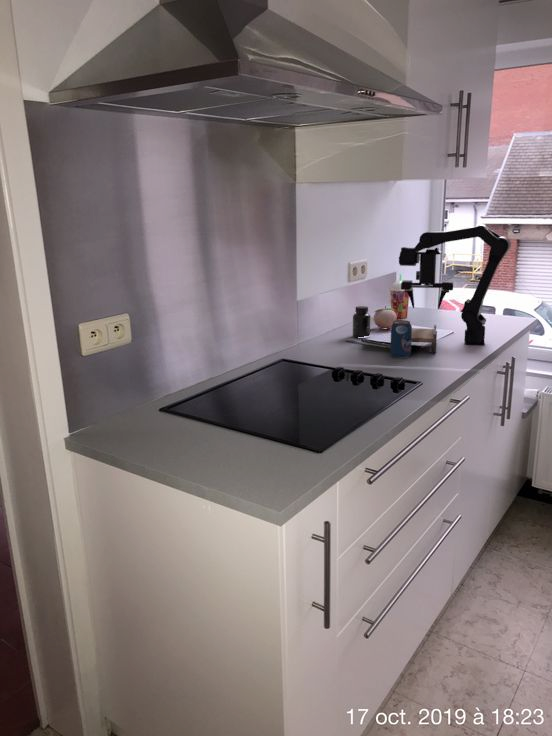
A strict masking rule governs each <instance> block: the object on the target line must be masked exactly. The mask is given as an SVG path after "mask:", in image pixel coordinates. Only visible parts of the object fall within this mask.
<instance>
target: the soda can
mask: <svg viewBox="0 0 552 736" xmlns="http://www.w3.org/2000/svg"><path fill="white" fill-rule="evenodd" d="M412 328H413V326H412V324H411V321H409V320H405V319H404V320H402V319H401V320H400V319H396V321H393V324H392V326H391V327H390V348H389V349H390V350H389V351H390V354H391V356H392V357H393V358H395V359H407V358H409V357H410V356H411V353H412V342H411V337H412Z"/></svg>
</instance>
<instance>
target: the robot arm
mask: <svg viewBox="0 0 552 736" xmlns="http://www.w3.org/2000/svg"><path fill="white" fill-rule="evenodd" d="M473 238H479V239H481V240H482V241H483V242H484V243H485V244H486V245H487V246H489V247H490V249H489V252H488V261H487V263H486V265H485V268H484V269H483V272H482V275H481V277H480V278H479V282H478V284H477V286H476V288H475V291H474V293H473V295H472V297H471V298H470V299H469V298H467V299H466V300H465V301H464V304H463V308H462V309H461V310H460V313H461V315H460V316H461V320H462V321H463V322H464V323H465V324H466V325H465V326H466V329H465V330H464V343H465V345H471V346H472V345H474V346H476V345H478V346H485V345H486V342H485V335H486V326H485V324H486V323H487V319H486V318H485V317H484V315H482V309H483V304H484V299H485V296H486V295H487V292H488V290H489V288H490V286H491V283H492V282H493V278H494V277H495V274H496V273H497V270H498V268H499V265H500V264H501V262H502V261H503V259H504V258H505V257H506V255H507V254H508V253H509V250H510V249H511V247H512V242H511V240H510V239H509V238H508V237H506V236H500V235H499V234H498V233H497V232H495V231H493V230H491V229H490V228H489V227H488V226H487V225H485V224H480V225H478V226H472V227H466V228H459V229H454V230H448V231H447V230H446V231H442V230H441V231H440V230H439V231H437V230H436V231H435V230H432V231H431V230H430V231H426V232H423V233H421V235H420V236H419V242H418V243H417V244H416V245H415V246H414V247H406V246H403V247H400V251H399V256H398V264H399V266H401V267H402V266H405V267H417V264H419V270H416V272H415V280H416V281H419V282H413V280H406V279H405V280H401V281H402V283H401V290H404V292H407V293H408V295H409V301H410V303H411V306H412V309H414V308H415V297H414V289H415V288H417V289H418V288H419V289H420V288H422V289H423V288H424V289H430V288H431V289H433V288H434V289H440V295H439V299H438V306H437V309H440V307H441V305H442V303H443V300H444V298H445V296H446V294H447V293H450V291H453V290H454V282H453V280H441V282H436V269H437V268H436V267H437V266H436V265H437V255H441V254H442V253H443V251H442V250H440V249H439V246H440V245H441V244H444V243H448V242H449V243H450V242H455V241H461V240H467V239H473ZM436 246H437V247H436ZM434 247H435V248H434ZM430 248H432V249H430ZM433 248H434V249H433ZM423 250H425V251H423Z"/></svg>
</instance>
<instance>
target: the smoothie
mask: <svg viewBox="0 0 552 736" xmlns="http://www.w3.org/2000/svg"><path fill="white" fill-rule="evenodd" d="M402 281H403V280H402V274H401V273H400V274H399V280H396V281H395V282H393V284H392V285H391V288H390V308H392V309H394V310H395V311H394V310H393V311H394V312H395V314H396V316H397V318H396V320H400V319H401V320H402V319H407V318H408V311H409V301H410V297H409V295H408V293H407V292H404V290H401V283H402Z"/></svg>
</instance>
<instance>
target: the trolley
mask: <svg viewBox="0 0 552 736" xmlns="http://www.w3.org/2000/svg"><path fill="white" fill-rule="evenodd" d="M437 333H438V330H437V324H434V325H433V328H422V327H421V328H420V327H419V328H417V327H416V328H415V327H414V328H413V327H412V337H411V343H422V344H423V343H427V344H428V343H429V344H430V345H431V348H430V351H431V354H436V353H437V339H438V338H437V337H438V335H437Z"/></svg>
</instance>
